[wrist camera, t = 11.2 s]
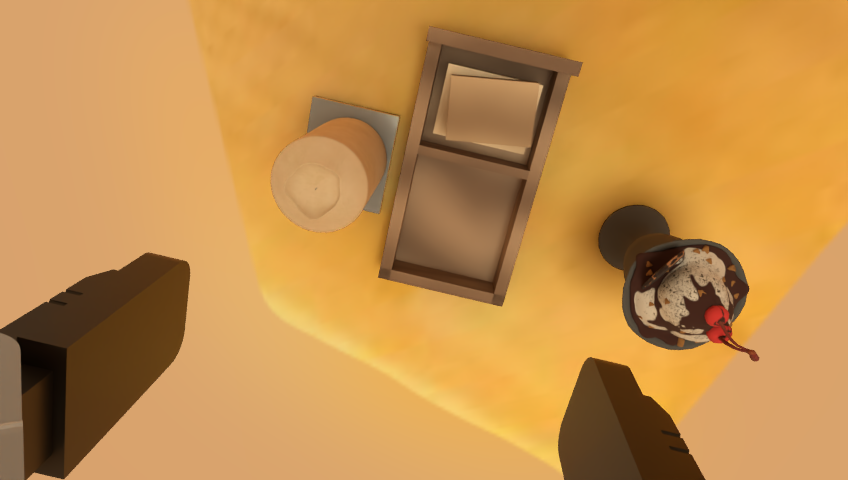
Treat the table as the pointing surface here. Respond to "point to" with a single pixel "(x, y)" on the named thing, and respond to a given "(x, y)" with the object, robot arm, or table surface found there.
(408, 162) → the tray
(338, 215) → the candle
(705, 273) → the sundae
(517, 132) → the offcut upper
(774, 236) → the table surface
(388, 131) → the coaster
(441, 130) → the offcut lower
